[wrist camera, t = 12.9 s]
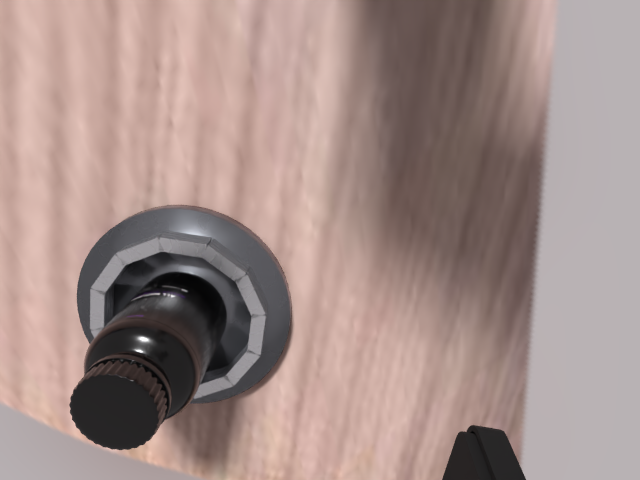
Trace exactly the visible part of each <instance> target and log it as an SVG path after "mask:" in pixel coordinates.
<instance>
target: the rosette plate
mask: <svg viewBox="0 0 640 480" xmlns="http://www.w3.org/2000/svg"><path fill="white" fill-rule="evenodd" d="M174 271H181V272H188V273H192V274H195V275H198V276H200V277H202V278H204V279H205V280H207V281H208V282H209V283H211V284H212V285H213V286H214V287H215V288H216V289H217V290H218V292H219V293H220V295H221V296H222V298H223V300H224V303H225V306H226V311H227V323H226V328H225V331H224V333H223V336H222V338H221V340H220V343H219V345H218V347H217V349H216V351H215V353H214V356H213V358H212V360H211V362H210V364H209V366H208V368H207V371H206V373H205V375H204V377H203V379H202V381H201V383H200V386H199V388H198V390H197V392H196V394H195V396H194V397H193V399H192V401H191V402H190V403H189V404H192V403H209V402H216V401H220V400H223V399H227V398H230V397H232V396H235V395H238V394H240V393H242V392H244V391H245V390H247V389H249V388H251V387H252V386H253V385H255V384H256V383H257V382H259V381H260V380H261V379H262V378H263V377H264V376H265V375H266V374H267V373H268V372H269V371H270V370H271V368H272V367H273V366H274V365H275V363H276V362H277V360H278V358H279V357H280V355H281V353H282V351H283V348H284V346H285V343H286V340H287V336H288V332H289V327H290V321H291V296H290V292H289V287H288V283H287V280H286V277H285V275H284V272H283V270H282V268H281V266H280V264H279V262H278V260H277V259H276V257H275V256H274V254H273V253H272V252H271V250H270V249H269V248H268V246H267V245H266V244H265V243H264V242H263V241H262V240H261V239H260V238H259V237H258V236H257V235H256V234H255V233H253V232H252V231H251V230H250V229H249V228H247V227H246V226H244V225H243V224H241V223H239V222H238V221H236V220H234V219H232V218H230V217H228V216H226V215H224V214H222V213H219V212H216V211H213V210H210V209H206V208H201V207H197V206H187V205H167V206H161V207H155V208H151V209H148V210H145V211H141V212H139V213H137V214H135V215H133V216H130V217H128V218H127V219H125V220H124V221H122V222H121V223H119V224H118V225H116V226H115V227H113V228H112V229H110V230H109V231H108V232H107V233H106V234H105V235H103V236H102V237H101V238H100V239H99V241H98V242H97V243H96V244H95V245H94V247H93V248H92V249H91V251H90V253H89V254H88V256H87V258H86V259H85V262H84V264H83V267H82V269H81V272H80V277H79V281H78V288H77V306H78V313H79V318H80V322H81V325H82V328H83V331H84V333H85V335H86V337H87V339H88V341H89V343H90V344H91V342H92V341H93V339H94V338H95V337H96V336H97V334H98V333H99V332H100V331H101V330H102V329H103V328H104V327H105V326H106V325H107V324H108V323H109V322H110V321H111V320H112V319H113V318H114V316H115V315H116V314H117V313H118V312H119V311H120V310H121V309H122V308H123V307H124V306H125V305H126V304H127V303H128V302H129V301H130V300H131V299H132V298H133V297H134V296H135V295H136V294H137V292H138V291H139V290H140V289H141V288H142V287H144V286H145V285H146V284H147V283H148V282H149V281H150V280H152V279H153V278H155V277H156V276H158V275H161V274H164V273H168V272H174Z"/></svg>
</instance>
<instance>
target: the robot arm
mask: <svg viewBox="0 0 640 480" xmlns="http://www.w3.org/2000/svg"><path fill="white" fill-rule="evenodd" d="M442 480H526V479H525V476H524V474H523V472H522V470H521V467H520V465H519V463H518V461H517V458H516V456H515V454H514V452H513V449H512V447H511V445H510V443H509V440H508V438H507V436H506V434H505V433H504V431H502V430H499V429H493V428H487V427H481V426H475V425H472V426H470V427H469V428H468V430H467V432H459V433H458V435H457V437H456V440H455V443H454V446H453V449H452V452H451V455H450V458H449V461H448V464H447V467H446V470H445V473H444V476H443V479H442Z"/></svg>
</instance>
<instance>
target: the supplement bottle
mask: <svg viewBox="0 0 640 480" xmlns="http://www.w3.org/2000/svg"><path fill="white" fill-rule="evenodd" d="M226 323H227V311H226V306H225V303H224V300H223V298H222V296H221V295H220V293H219V292H218V290H217V289H216V288H215V287H214V286H213V285H212V284H211V283H209V282H208V281H207V280H205V279H204V278H202V277H200V276H198V275H195V274H192V273H188V272H181V271H174V272H168V273H164V274H161V275H158V276H156V277H155V278H153V279H152V280H150V281H149V282H148V283H147V284H146V285H145V286H144V287H142V288H141V289H140V290H139V291H138V292H137V294H136V295H135V296H134V297H133V298H132V299H131V300H130V301H129V302H128V303H127V304H126V305H125V306H124V307H123V308H122V309H121V310H120V311H119V312H118V313H117V314H116V315H115V316H114V318H113V319H112V320H111V321H110V322H109V323H108V324H107V325H106V326H105V327H104V328H103V329H102V330H101V331H100V332H99V333H98V334H97V336H96V337H95V338H94V339H93V341H92V342H91V344H90V345H89V348H88V350H87V352H86V356H85V360H84V377H83V378H82V379H81V381H80V382H79V383H78V385H77V386H76V387H75V388H74V390H73V394H72V395H71V402H70V404H69V405H70V408H71V410H70V413H71V415H72V420H73V421H74V422H75V424H76V427H77V428H78V429H79V430H80V431H81V433H82V434H84V435H85V436H86V437H87V438H88V439H89V440H92V441H93V442H94V443H95V444H99V445H101V446H103V447H108V448H110V449H118V450H123V449H127V450H129V449H131V448H137V447H138V446H139V445H144V444H145V443H146V441H149V440H150V439H151V438H152V436H153V435H154V434H155V433H156V432H157V430H158V428H159V426H160V425H161V424H162V423H163V421H165V420H167V419H170V418H172V417H174V416H176V415H177V414H179V413H180V412H181V411H183V410H184V409H185V408H186V407H187V406H188V405H189V403H190V402H191V401H192V399H193V397H194V396H195V394H196V392H197V390H198V388H199V386H200V383H201V381H202V379H203V377H204V375H205V373H206V371H207V368H208V366H209V364H210V362H211V360H212V358H213V356H214V353H215V351H216V349H217V347H218V345H219V343H220V340H221V338H222V336H223V333H224V331H225V328H226Z"/></svg>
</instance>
